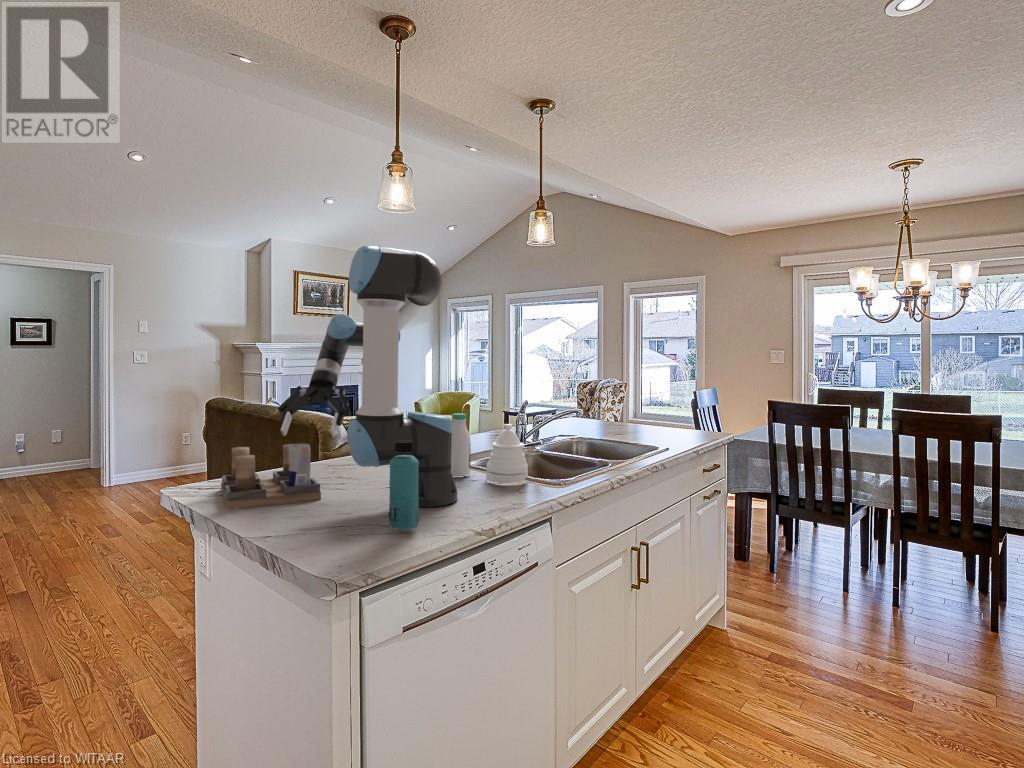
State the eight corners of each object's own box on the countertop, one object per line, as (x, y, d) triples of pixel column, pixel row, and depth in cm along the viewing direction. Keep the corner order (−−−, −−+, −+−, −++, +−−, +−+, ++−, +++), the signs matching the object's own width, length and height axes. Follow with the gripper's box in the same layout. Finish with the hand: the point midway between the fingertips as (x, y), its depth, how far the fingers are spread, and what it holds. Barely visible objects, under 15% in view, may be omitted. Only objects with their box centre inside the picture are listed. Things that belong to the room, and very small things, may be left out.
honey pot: (527, 487, 164) (529, 426, 163) (484, 485, 164) (486, 425, 163) (527, 477, 176) (528, 421, 175) (487, 476, 177) (488, 420, 176)
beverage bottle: (424, 529, 122) (425, 439, 121) (409, 538, 115) (410, 443, 114) (398, 525, 124) (399, 437, 123) (382, 534, 117) (383, 441, 116)
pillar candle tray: (320, 499, 144) (321, 454, 144) (226, 509, 133) (226, 460, 132) (304, 482, 163) (304, 441, 162) (221, 489, 152) (221, 446, 151)
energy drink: (292, 487, 148) (292, 443, 148) (312, 487, 149) (312, 443, 148) (286, 492, 143) (286, 446, 142) (307, 492, 143) (307, 446, 143)
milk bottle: (466, 478, 172) (467, 415, 171) (442, 477, 174) (443, 414, 173) (472, 473, 180) (474, 413, 179) (450, 472, 181) (451, 412, 180)
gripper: (368, 386, 170) (355, 442, 155) (287, 384, 169) (266, 440, 155) (364, 369, 164) (350, 425, 150) (280, 367, 163) (258, 424, 149)
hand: (308, 433), depth 152 cm, fingers open, 13 cm apart
